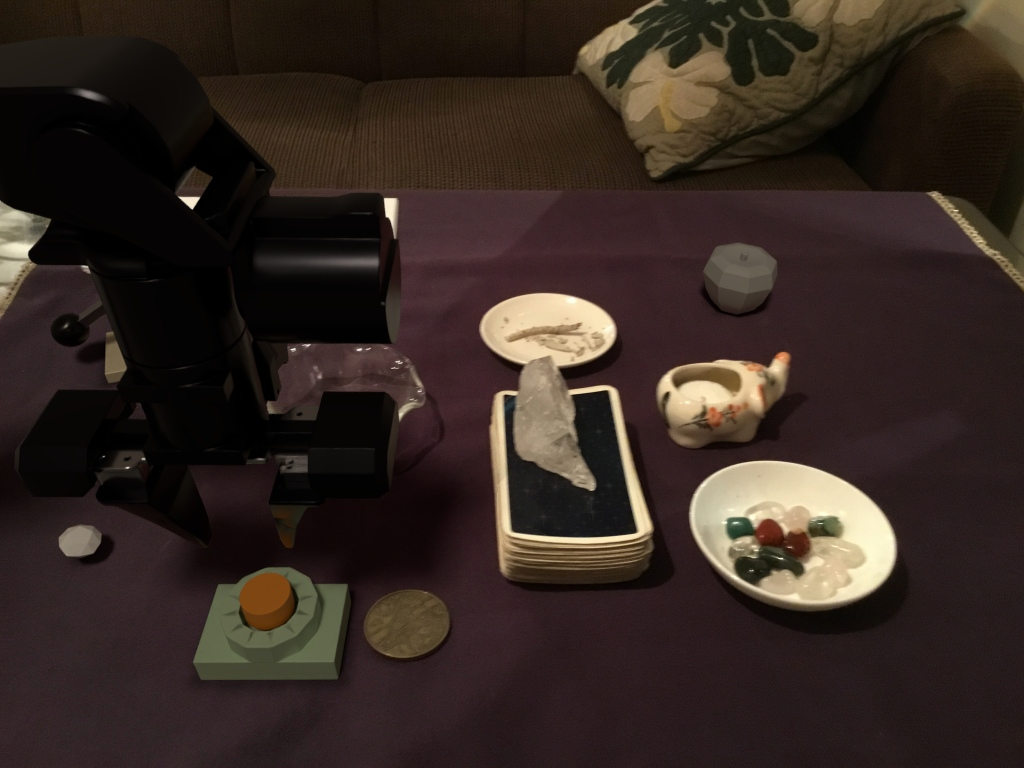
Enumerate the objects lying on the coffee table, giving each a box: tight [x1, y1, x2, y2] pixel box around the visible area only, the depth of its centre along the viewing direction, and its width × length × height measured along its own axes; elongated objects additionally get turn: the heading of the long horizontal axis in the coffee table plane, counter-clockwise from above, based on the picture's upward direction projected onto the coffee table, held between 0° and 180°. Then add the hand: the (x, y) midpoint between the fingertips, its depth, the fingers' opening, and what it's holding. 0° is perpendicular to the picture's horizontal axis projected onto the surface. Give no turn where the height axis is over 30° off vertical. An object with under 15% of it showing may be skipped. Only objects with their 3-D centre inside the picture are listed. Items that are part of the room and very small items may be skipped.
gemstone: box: [58, 523, 102, 559], centre depth 58 cm, size 3×3×3 cm
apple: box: [702, 242, 778, 315], centre depth 84 cm, size 8×8×7 cm
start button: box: [239, 573, 295, 630], centre depth 51 cm, size 3×3×2 cm
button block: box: [192, 566, 352, 681], centre depth 53 cm, size 9×6×4 cm
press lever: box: [50, 299, 106, 348], centre depth 73 cm, size 10×3×3 cm, turn 110°
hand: (249, 541), depth 47 cm, fingers open, 5 cm apart
